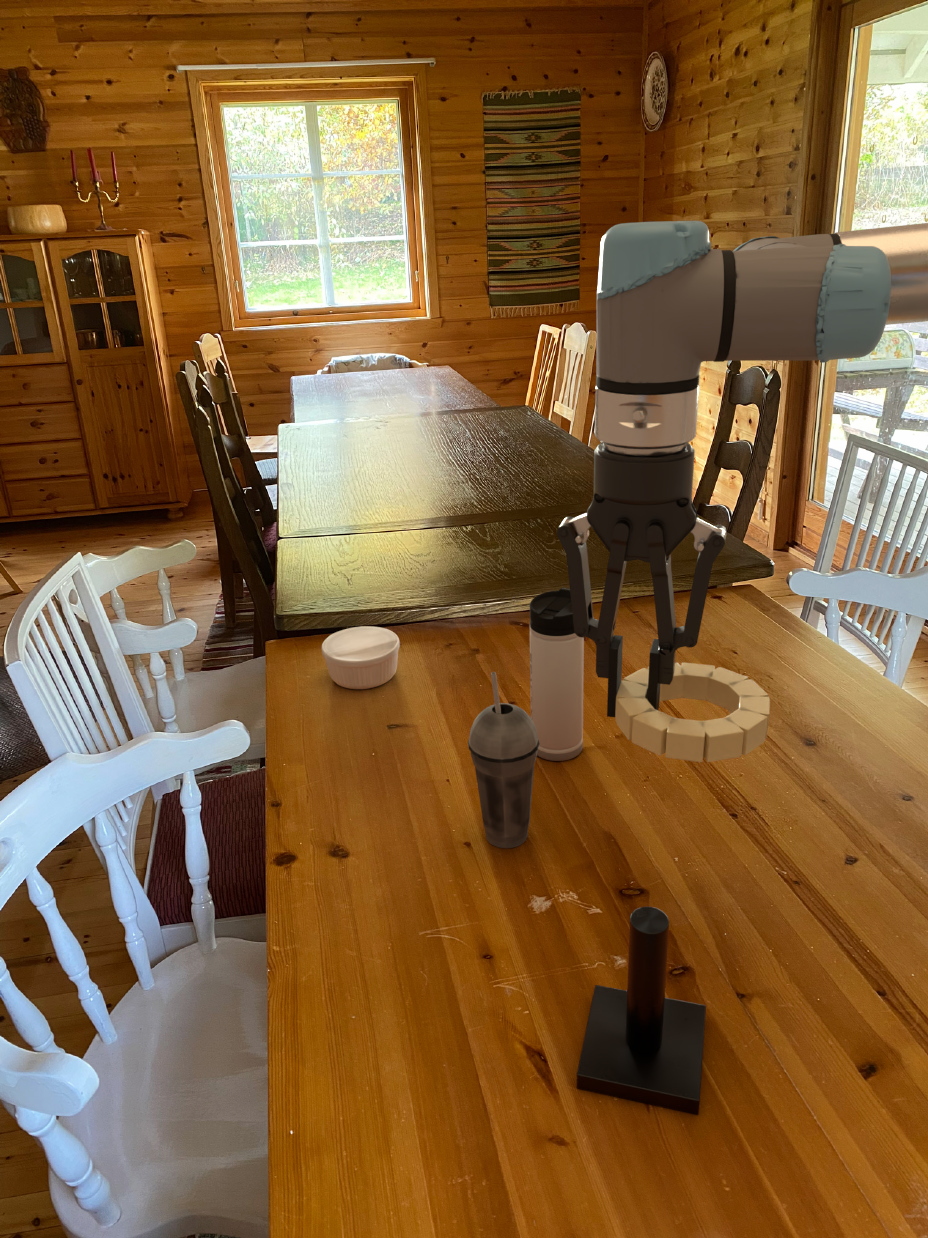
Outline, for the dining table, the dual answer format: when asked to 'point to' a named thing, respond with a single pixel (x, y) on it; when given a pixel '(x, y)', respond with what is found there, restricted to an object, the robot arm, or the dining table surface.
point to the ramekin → (361, 656)
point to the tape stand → (644, 1029)
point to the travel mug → (556, 676)
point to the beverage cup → (504, 769)
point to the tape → (693, 736)
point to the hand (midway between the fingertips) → (633, 711)
